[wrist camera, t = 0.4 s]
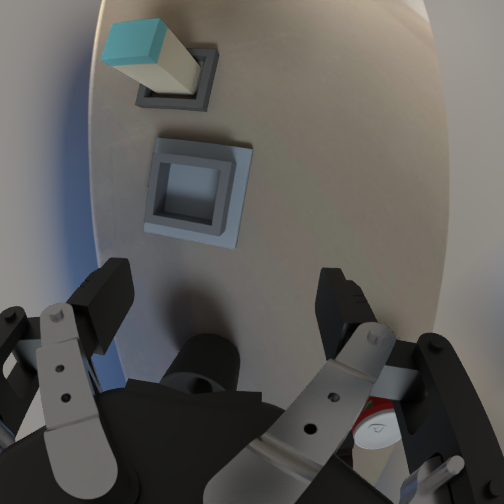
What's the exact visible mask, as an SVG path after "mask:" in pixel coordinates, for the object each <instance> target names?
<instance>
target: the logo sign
mask: <svg viewBox="0 0 504 504" xmlns="http://www.w3.org/2000/svg"><path fill="white" fill-rule="evenodd" d="M353 446H354V438H353V434H352V430H350V431H349V433H348V435H347V436H346V438H345V439H344V441H343V443H342V444H341V446H340V447H339V449H338V450H337V452H336V453H335V454H336V455H337V456H338V457H339V458H340V459H341V460H343V461H344V462H345V463H346V464H347V465H348V466H349V467H351V468H352V469H353V458H352V448H353Z"/></svg>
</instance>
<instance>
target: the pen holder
mask: <svg viewBox="0 0 504 504" xmlns="http://www.w3.org/2000/svg"><path fill="white" fill-rule="evenodd" d="M239 369H240V358H239V355H238V352H237V351H236V349H235V348H234V347H233V345H232V344H230V343H229V342H228V341H226V340H225V339H223V338H221V337H218V336H215V335H209V334H203V335H198V336H195V337H193V338H191V339H190V340H188V341H187V342H186V344H185V345H184V346H183V348H182V349H181V351H180V352H179V353H178V355H177V356H176V358H175V359H174V361H173V362H172V364H171V365H170V367H169V368H168V370H167V371H166V373H165V375H164V376H163V378H162V379H161V381H160V383H159V384H162V385H164V386H167V387H170V388H173V389H176V390H178V391H181V392H184V393H187V394H202V393H211V392H219V391H227V390H228V391H236V390H237V383H238V377H239Z"/></svg>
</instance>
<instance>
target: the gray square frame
mask: <svg viewBox="0 0 504 504" xmlns="http://www.w3.org/2000/svg"><path fill="white" fill-rule="evenodd" d="M186 50H187V51H188V52H189V53H190V55H191V56H192V57H193V58H194V60H195V61H205V63H204V67H203V71H202V75H201V80H200V84H199V88H198V93H197V97H196V100H193V99H177V98H151V95H152V90H151V89H150V88H148V87H146V86H145V85H143V84H141V83H140V86H139V90H138V95H137V99H136V103H135V105H137V106H139V107H141V108H161V109H179V110H193V111H204V112H207V108H208V103H209V98H210V93H211V89H212V84H213V80H214V75H215V71H216V67H217V63H218V58H219V54H218V52H217V50H216V49H196V48H186Z"/></svg>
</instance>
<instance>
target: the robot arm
mask: <svg viewBox="0 0 504 504" xmlns="http://www.w3.org/2000/svg"><path fill="white" fill-rule="evenodd" d="M133 301H134V286H133V281H132V275H131V269H130V264H129V261H128V259H127V258H112V257H111V258H109V259H108V261H107V262H106V263H105V264H104V265H103V266H102V267H101V268H99V269H97V270H95V271H94V272H92V273H91V274H90V275H89V276H88V277H87V278H86V279H85V282H83V283H82V284H81V285H80V287H79V288H78V289H77V290H76V291H75V292H74V293H73V294H72V296H71V297H70V298H69V299H68V301H67V302H66V303H56V304H53V305H51V306H49V307H47V308H46V309H45V310H44V311H43V312H42V313H41V316H40V317H31V318H27V316H26V313H25V311H24V309H23V308H22V307H19V306H15V307H10V308H8V309H6V310H4V311H3V312H2V313H1V314H0V504H393V502H392V501H390V500H389V499H388V498H387V497H386V496H385V495H383V494H382V493H381V492H380V491H378V490H377V489H376V488H375V487H373V486H372V485H371V484H370V483H368V482H367V481H366V480H365V479H364V478H362V477H361V476H360V475H359V474H358V473H356V472H355V471H354V470H353V469H352V468H351V467H349V466H348V465H347V464H346V463H345V462H344V461H343V460H341V459H340V458H339V457H338V456H337V455H336V454H335V453H336V452H337V450H338V449H339V447H340V446H341V444H342V443H343V441H344V439H345V438H346V436H347V435H348V433H349V431H350V430H351V428H352V426H353V425H354V423H355V422H356V420H357V418H358V416H359V415H360V413H361V411H362V410H363V408H364V406H365V404H366V403H367V401H368V399H369V397H370V396H375V397H381V398H387V399H391V400H392V403H393V407H394V411H395V414H396V418H397V422H398V426H399V430H400V434H401V438H402V442H403V446H404V450H405V455H406V459H407V464H408V468H409V473H410V476H408V477H407V478H406V479H405V481H404V482H403V484H402V486H401V490H400V502H399V504H504V457H503V454H502V451H501V449H500V446H499V443H498V441H497V438H496V436H495V433H494V431H493V428H492V426H491V424H490V421H489V419H488V416H487V414H486V412H485V410H484V407H483V406H482V403H481V401H480V399H479V397H478V395H477V393H476V390H475V389H474V386H473V384H472V382H471V381H470V378H469V376H468V375H467V373H466V371H465V369H464V367H463V365H462V363H461V361H460V359H459V357H458V356H457V354H456V352H455V350H454V348H453V347H452V345H451V344H450V342H449V341H448V340H447V339H446V338H444V337H443V336H441V335H439V334H436V333H425V334H422V335H421V336H420V337H419V339H418V341H417V343H411V342H406V341H401V340H397V339H396V336H395V334H394V332H393V331H392V330H391V329H390V328H389V327H387V326H385V325H383V324H381V323H378V322H377V320H376V318H375V315H374V313H373V311H372V309H371V307H370V305H369V303H367V302H368V301H367V299H366V297H364V294H363V292H362V290H361V288H360V287H359V286H358V285H357V284H356V283H355V282H353V281H352V280H346V279H345V276H344V274H343V272H342V270H341V269H340V268H322V269H321V272H320V278H319V284H318V289H317V295H316V301H315V314H316V318H317V322H318V326H319V330H320V334H321V339H322V343H323V347H324V351H325V356H326V360H327V362H326V363H325V364H324V366H323V367H322V368H321V369H320V371H319V372H318V373H317V374H316V376H315V377H314V378H313V379H312V380H311V382H310V383H309V384H308V385H307V386H306V388H305V389H304V390H303V391H302V392H301V394H300V395H299V396H298V397H297V398H296V399H295V401H294V402H293V403H292V404H291V405H290V406H289V407H288V408H287V410H286V411H285V410H284V409H282V408H279V407H277V406H275V405H272V404H269V403H265V402H262V392H247V391H228V390H227V391H219V392H211V393H202V394H187V393H184V392H181V391H178V390H176V389H173V388H170V387H167V386H164V385H162V384H159V383H153V382H147V381H141V380H135V379H129V378H128V381H127V383H126V386H125V388H116V389H111V390H107V391H104V392H103V390H102V387H101V384H100V382H99V379H98V376H97V373H96V370H95V367H94V364H93V361H92V359H91V356H92V355H93V353H96V354H101V355H105V353H106V351H107V349H108V347H109V345H110V343H111V341H112V340H113V338H114V336H115V334H116V332H117V331H118V329H119V327H120V325H121V323H122V322H123V320H124V318H125V316H126V315H127V313H128V311H129V309H130V307H131V306H132V304H133ZM11 352H12V353H13V355H14V357H15V359H16V360H17V363H16V364H15V366H14V368H13V369H12V371H11V373H10V374H9V376H8V378H7V379H6V378H5V377H4V375H3V364H4V362H5V361H6V359H7V358H8V356H9V355H10V353H11ZM39 386H40V394H41V400H42V406H43V412H44V417H45V423H46V425H45V426H43V427H42V428H40V429H38V430H36V431H35V432H33V433H31V434H29V435H28V436H26V437H24V438H22V439H21V440H19V441H17V442H15V437H16V435H17V433H18V430H19V428H20V426H21V424H22V421H23V419H24V417H25V414H26V413H27V411H28V409H29V406H30V404H31V402H32V400H33V398H34V396H35V394H36V392H37V390H38V388H39Z"/></svg>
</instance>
